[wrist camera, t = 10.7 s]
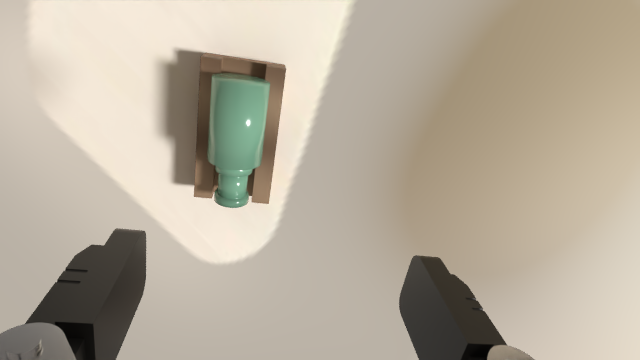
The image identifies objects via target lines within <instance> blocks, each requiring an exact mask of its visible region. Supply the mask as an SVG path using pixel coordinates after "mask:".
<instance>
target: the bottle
mask: <svg viewBox="0 0 640 360" xmlns="http://www.w3.org/2000/svg"><path fill="white" fill-rule="evenodd" d="M269 91H270V82H269V81H267V80H264V79H261V78H258V77H254V76H249V75H243V74H233V73H218V74H213V75H212V81H211V99H210V117H209V135H208V153H207V159H208V161H209V162H210V163H211V164H213V165H215V170H216V171H217V172H218V173H219V177H218V188H217V189H216V190H215V196H214V200H215V202H216V203H217V204H219V205H221V206H224V207H230V208H237V207H242V206H244V205H246V204H247V203H248V198H249V193H248V191H247V182H248V175H250V174H251V173H252V171H253V169H254V168H257V167H259V166H260V165H261V162H262V153H263V144H264V135H265V126H266V117H267V108H268V100H269Z"/></svg>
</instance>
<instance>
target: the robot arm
mask: <svg viewBox="0 0 640 360" xmlns="http://www.w3.org/2000/svg"><path fill="white" fill-rule="evenodd" d="M145 280H146V233H145V231H140V230H129V229H115V230H114V231H113V233H112V234H111V236H110V238H109V239H108V241H107V242H106V244H105V245H104V246H101V245H91V246H89V247H88V248H86V249H84V250H83V251H81V252H80V253H78V254H77V255H75V256H74V258H73V259H72V261H71V262H70V263H69V265H68V266H67V267H66V270H65V271H64V272H63V273H62V274H61V276H60V277H59V278H58V281H57V283H55V284H54V285H53V287H52V288H51V289H50V291H49V292H48V293H47V295H46V296H45V297H44V299H43V300H42V301H41V303H40V304H39V305H38V307H37V308H36V310H35V311H34V312H33V314H32V315H31V316H30V318H29V319H28V320H27V322H26V323H25V324H24V325H20V326H16V327H14V328H11V329H9V330H7V331H5V332H3V333H1V334H0V360H116V358H117V355H118V353H119V350H120V348H121V346H122V343H123V341H124V338H125V336H126V334H127V331H128V329H129V327H130V324H131V322H132V319H133V317H134V315H135V312H136V310H137V307H138V305H139V303H140V300H141V298H142V295H143V291H144V286H145ZM399 305H400V306H399V307H400V313H401V316H402V318H403V321H404V323H405V326H406V328H407V331H408V333H409V336H410V338H411V341H412V343H413V346H414V348H415V350H416V353H417V355H418V358H419V360H534V359H533V358H532V357H531V356H529V355H528V354H526V353H525V352H523V351H521V350H519V349H517V348H514V347H511V346H507V344H506V343H505V341H504V340H503V338H502V337H501V335H500V334H499V332H498V331H497V329H496V328H495V326H494V325H493V323H492V322H491V320H490V319H489V317H488V316H487V314H486V313H485V312H484V311H483V308H482V307H481V305H480V304H479V302H478V301H476V298H475V296H474V295H473V293H472V292H471V291H470V289H469V287H468V286H467V285H466V284H464V282H462V281H461V280H460V279H459V278H457V276H455V275H453V274H450V273H449V271H448V270H447V268H446V267H445V265H444V263H443V262H442V261H441V259H440V258H438V257H427V256H414V257H413V258H412V260H411V263H410V266H409V269H408V272H407V275H406V278H405V282H404V284H403V287H402V290H401V294H400V300H399Z"/></svg>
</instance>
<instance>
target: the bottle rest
mask: <svg viewBox="0 0 640 360" xmlns="http://www.w3.org/2000/svg"><path fill="white" fill-rule="evenodd" d="M218 73H233V74H243V75H249V76H254V77H258V78H261V79H264V80H267V81H269V82H270V91H269V100H268V108H267V117H266V126H265V135H264V144H263V153H262V162H261V165H260V166H259V167H257V168H254V169H253V171H252V173H251V174H250V175H248V182H247V191H248V193H249V196H252V202H255V203H265V204H269V197H270V189H271V182H272V174H273V166H274V158H275V150H276V143H277V135H278V127H279V119H280V112H281V104H282V96H283V88H284V80H285V73H286V68H285V65H282V64H275V63H268V62H262V61H255V60H249V59H242V58H236V57H229V56H223V55H216V54H209V53H205V54H203V55H202V56H201V62H200V83H199V103H198V124H197V145H196V166H195V187H194V197H202V198H212V196H213V193H214V192H215V190H216V189H217V188H218V177H219V173H218V172H217V171H216V170H215V165H213V164H211V163H210V162H209V161H208V159H207V153H208V135H209V117H210V99H211V81H212V75H213V74H218Z"/></svg>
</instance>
